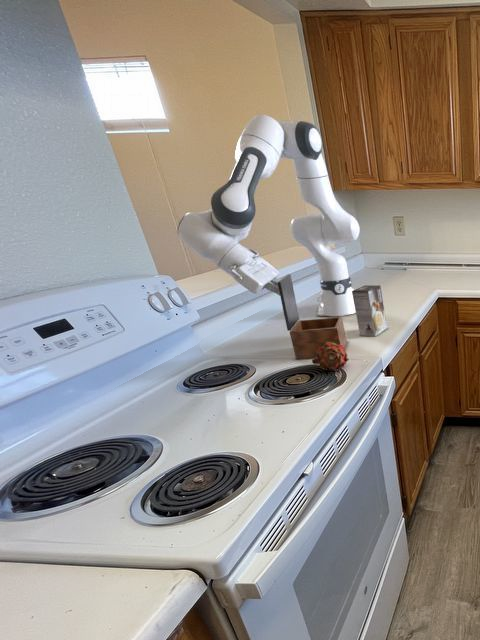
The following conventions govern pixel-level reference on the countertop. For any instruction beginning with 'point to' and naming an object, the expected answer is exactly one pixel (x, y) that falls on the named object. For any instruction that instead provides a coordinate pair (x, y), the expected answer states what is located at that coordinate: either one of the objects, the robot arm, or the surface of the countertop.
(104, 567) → the countertop surface
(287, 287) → the lid
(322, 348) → the dragon fruit
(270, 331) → the countertop surface
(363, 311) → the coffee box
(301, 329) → the chest
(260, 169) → the robot arm
